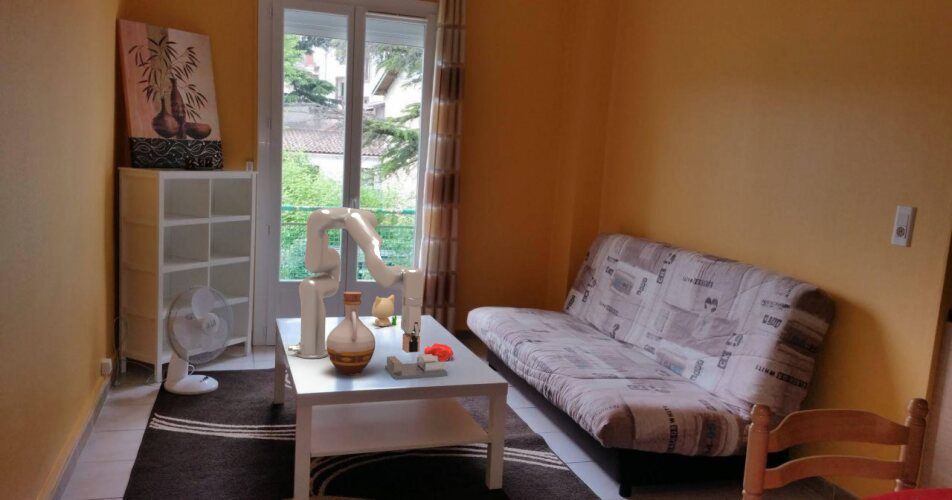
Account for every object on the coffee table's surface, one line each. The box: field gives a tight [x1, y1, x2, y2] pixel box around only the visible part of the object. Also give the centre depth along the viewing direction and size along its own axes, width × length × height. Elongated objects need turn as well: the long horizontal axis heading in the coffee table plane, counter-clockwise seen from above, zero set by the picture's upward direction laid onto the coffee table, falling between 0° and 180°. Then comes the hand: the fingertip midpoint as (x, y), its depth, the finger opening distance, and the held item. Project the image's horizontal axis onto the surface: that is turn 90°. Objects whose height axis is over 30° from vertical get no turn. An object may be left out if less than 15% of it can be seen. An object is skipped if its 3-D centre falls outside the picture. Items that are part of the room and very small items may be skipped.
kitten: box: [371, 294, 397, 327], centre depth 338 cm, size 15×10×15 cm
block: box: [401, 333, 421, 354], centre depth 264 cm, size 5×5×6 cm
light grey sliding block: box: [418, 354, 437, 370], centre depth 268 cm, size 5×6×4 cm
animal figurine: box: [423, 342, 454, 362], centre depth 289 cm, size 12×15×5 cm
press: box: [384, 355, 448, 381], centre depth 266 cm, size 20×14×6 cm
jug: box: [325, 291, 376, 376], centre depth 260 cm, size 20×18×30 cm
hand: (410, 349), depth 264 cm, fingers closed on block, 5 cm apart
